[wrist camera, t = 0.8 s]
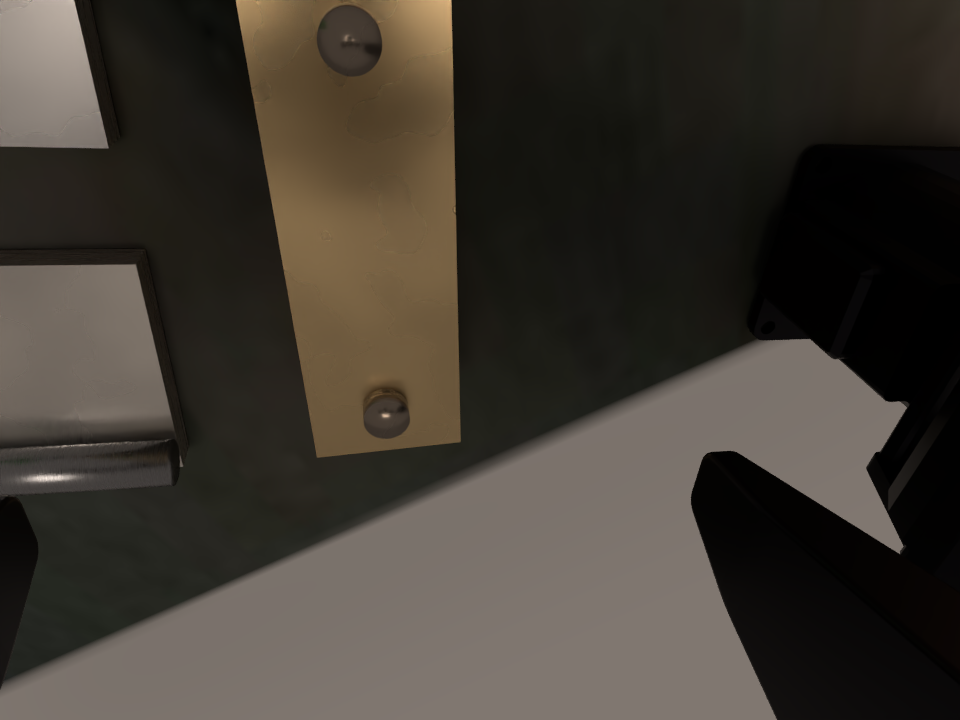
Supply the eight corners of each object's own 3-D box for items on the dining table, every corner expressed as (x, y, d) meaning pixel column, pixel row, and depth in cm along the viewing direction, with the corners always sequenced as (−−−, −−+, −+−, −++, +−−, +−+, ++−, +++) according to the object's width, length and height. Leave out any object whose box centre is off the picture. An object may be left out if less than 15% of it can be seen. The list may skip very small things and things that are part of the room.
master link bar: (428, -60, 16) (454, -54, 12) (443, 364, 22) (463, 456, 19) (252, -60, 15) (221, -52, 11) (321, 375, 22) (316, 472, 18)
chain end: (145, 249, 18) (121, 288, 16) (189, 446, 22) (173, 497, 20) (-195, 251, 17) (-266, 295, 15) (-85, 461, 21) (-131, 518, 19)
